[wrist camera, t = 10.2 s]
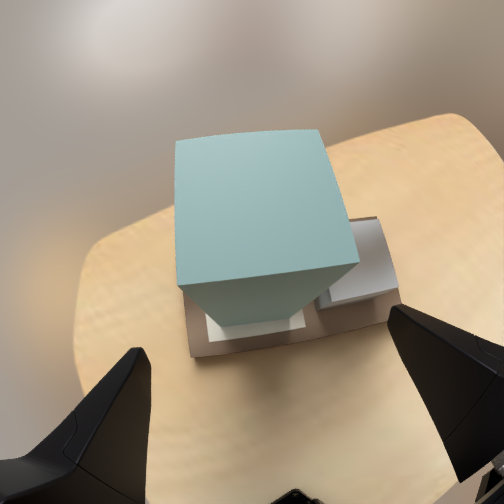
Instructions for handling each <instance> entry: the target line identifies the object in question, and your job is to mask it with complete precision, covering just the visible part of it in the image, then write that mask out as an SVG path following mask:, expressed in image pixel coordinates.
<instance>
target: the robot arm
mask: <svg viewBox="0 0 504 504" xmlns="http://www.w3.org/2000/svg"><path fill="white" fill-rule="evenodd" d="M387 326H388V330H389V332H390V334H391V336H392V339H393V341H394V343H395V346H396V348H397V350H398V353H399V355H400V357H401V359H402V361H403V363H404V365H405V367H406V369H407V371H408V373H409V374H410V376H411V378H412V380H413V382H414V384H415V386H416V388H417V390H418V392H419V394H420V396H421V398H422V399H423V401H424V403H425V405H426V408H427V410H428V412H429V414H430V416H431V418H432V420H433V422H434V424H435V426H436V428H437V431H438V433H439V435H440V437H441V439H442V442H444V443H443V444H444V447H445V449H446V451H447V453H448V456H449V458H450V461H451V463H452V465H453V468H454V470H455V473H456V476H457V478H458V481H459V482H460V483H462V482H463V481H465V480H466V479H467V478H469V477H470V476H472V475H473V474H474V473H476V472H477V471H478V470H480V469H481V468H482V467H484V466H485V465H486V464H488V463H489V462H490V461H491V462H492V464H493V466H494V467H493V468H492V469H491V470H490V471H488V472H487V473H486V474H485V475H484V476H482V481H481V484H480V487H479V490H478V494H477V497H476V500H475V502H476V503H475V504H504V347H503V346H501V345H498V344H495V343H492V342H490V341H488V340H485V339H483V338H480V337H478V336H476V335H475V336H474V334H471V333H469V332H467V331H464V330H462V329H460V328H458V327H455V326H453V325H451V324H448V323H446V322H444V321H441V320H439V319H437V318H434V317H432V316H430V315H427V314H425V313H423V312H420V311H418V310H416V309H413V308H411V307H409V306H406V305H404V304H396V305H393V306H392V307H391V309H390V313H389V318H388V322H387ZM150 413H151V364H150V362H149V359H148V357H147V355H146V353H145V351H144V349H143V348H142V347H133V348H131V349H129V351H128V352H127V353H126V354H125V355H124V356H123V357H122V358H121V359H120V360H119V361H118V362H117V363H116V364H115V365H114V366H113V367H112V369H111V370H110V371H109V372H108V373H107V374H106V375H105V376H104V377H103V378H102V379H101V380H100V381H99V382H98V384H97V385H96V386H95V387H94V388H93V389H92V390H91V391H90V392H89V393H88V394H87V395H86V397H85V398H84V399H83V400H82V401H81V402H80V403H79V404H78V405H77V407H76V408H75V409H74V410H73V411H72V412H71V413H70V414H69V415H68V416H67V417H66V418H65V419H64V420H63V421H62V423H61V424H60V425H59V426H58V427H57V428H56V429H54V431H52V432H51V433H50V434H49V435H48V436H47V437H46V438H45V439H44V440H43V441H41V442H40V443H39V444H38V445H37V446H36V447H35V448H34V449H33V450H31V451H30V452H29V453H28V454H26V455H25V456H22V457H20V458H15V459H6V460H0V504H145V486H146V463H147V447H148V434H149V423H150ZM294 493H298V494H297V495H293V494H294ZM271 504H324V503H323V502H321V501H320V500H319V499H313V500H312V499H311V498H310V497H308V496H307V495H306V494H304V493H303V492H302V491H300V490H299V489H293V490H291V491H289V492H288V493H286V494H285V495H283V496H282V497H280V498H279V499H277V500H276V501H274V502H272V503H271Z"/></svg>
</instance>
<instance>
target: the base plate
mask: <svg viewBox="0 0 504 504" xmlns="http://www.w3.org/2000/svg"><path fill="white" fill-rule="evenodd" d="M349 222H350V226H351V229H352V233H353V236H354V240H355V244H356V247H357V251H358V255H359V259H360V263H358V264H357V265H356V266H355V267H354V268H352V269H351V270H350V271H349V272H348V273H346V274H345V275H344V276H343V277H342V278H340V279H339V280H338V281H337V282H335V283H334V284H333V285H332V286H331V287H329V288H328V289H327V290H326V291H324V292H323V293H322V294H320V295H319V296H318V297H317V298H315V299H314V300H313V301H312V302H310V303H309V304H308V305H306V306H305V307H304V308H302V309H301V310H300V311H298V312H297V313H296V314H294V315H293V316H292V317H290V318H286V319H280V320H273V321H266V322H259V323H251V324H243V325H235V326H226V327H220V326H219V325H218V324H217V323H216V322H215V321H214V320H213V319H211V318H210V317H209V316H208V315H207V314H206V313H205V312H204V311H203V310H202V309H201V308H200V307H199V306H198V305H197V304H196V303H195V302H194V301H193V300H192V299H190V298H189V297H188V296H187V295H186V294H185V293H184V292H183V297H184V307H185V316H186V325H187V333H188V341H189V349H190V356H191V358H193V357H203V356H212V355H221V354H229V353H236V352H244V351H250V350H257V349H263V348H269V347H275V346H281V345H286V344H292V343H297V342H302V341H307V340H312V339H317V338H321V337H326V336H330V335H335V334H339V333H343V332H347V331H351V330H355V329H359V328H363V327H367V326H370V325H374V324H378V323H381V322H385V321H388V318H389V313H390V309H391V307H392V306H393V305H396V304H402V303H401V299H400V294H399V290H398V287H399V285H398V281H397V277H396V273H395V270H394V266H393V263H392V259H391V256H390V252H389V249H388V246H387V242H386V239H385V236H384V233H383V230H382V227H381V224H380V221H379V219H377V216H375V217H366V218H357V219H349Z"/></svg>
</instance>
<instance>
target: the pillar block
mask: <svg viewBox="0 0 504 504" xmlns="http://www.w3.org/2000/svg"><path fill="white" fill-rule="evenodd" d="M175 250H176V272H177V286H178V287H179V288H180V289H181V290H182V291H183V292H184V293H185V294H186V295H187V296H188V297H189V298H190V299H192V300H193V301H194V302H195V303H196V304H197V305H198V306H199V307H200V308H201V309H202V310H203V311H204V312H205V313H206V314H207V315H208V316H209V317H210V318H211V319H213V320H214V321H215V322H216V323H217V324H218V325H219V326H220V327H226V326H235V325H243V324H251V323H259V322H266V321H273V320H280V319H286V318H290V317H292V316H293V315H294V314H296V313H297V312H298V311H300V310H301V309H302V308H304V307H305V306H306V305H308V304H309V303H310V302H312V301H313V300H314V299H315V298H317V297H318V296H319V295H320V294H322V293H323V292H324V291H326V290H327V289H328V288H329V287H331V286H332V285H333V284H334V283H335V282H337V281H338V280H339V279H340V278H342V277H343V276H344V275H345V274H346V273H348V272H349V271H350V270H351V269H352V268H354V267H355V266H356V265H357V264H358V263H360V259H359V255H358V251H357V247H356V244H355V240H354V236H353V233H352V229H351V226H350V222H349V219H348V215H347V212H346V209H345V205H344V202H343V199H342V196H341V193H340V190H339V187H338V184H337V181H336V178H335V175H334V172H333V169H332V166H331V163H330V161H329V158H328V155H327V152H326V150H325V147H324V144H323V142H322V139H321V137H320V134H319V132H318V130H279V131H260V132H247V133H235V134H225V135H216V136H208V137H200V138H193V139H187V140H180V141H176V149H175Z"/></svg>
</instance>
